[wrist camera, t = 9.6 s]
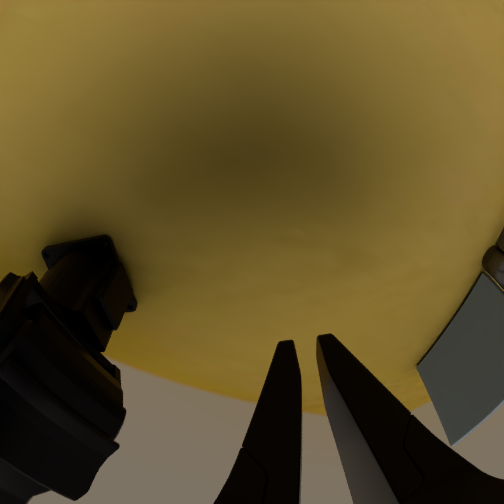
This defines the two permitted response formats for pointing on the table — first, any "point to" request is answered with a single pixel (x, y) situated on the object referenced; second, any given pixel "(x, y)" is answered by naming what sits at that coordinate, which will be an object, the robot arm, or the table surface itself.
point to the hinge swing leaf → (468, 363)
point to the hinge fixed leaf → (495, 261)
